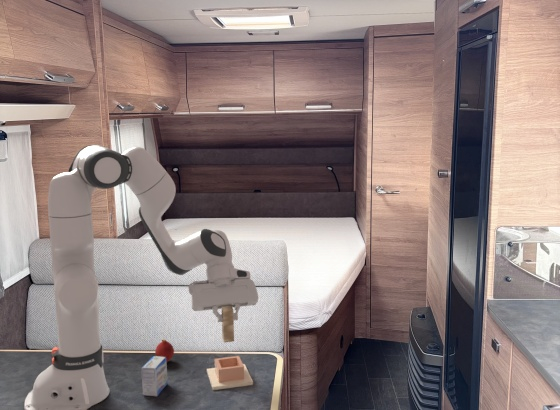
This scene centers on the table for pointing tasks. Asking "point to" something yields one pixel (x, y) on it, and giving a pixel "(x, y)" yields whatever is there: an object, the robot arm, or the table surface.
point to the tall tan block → (228, 324)
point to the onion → (165, 350)
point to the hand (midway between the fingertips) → (228, 320)
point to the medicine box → (154, 376)
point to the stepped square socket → (229, 373)
